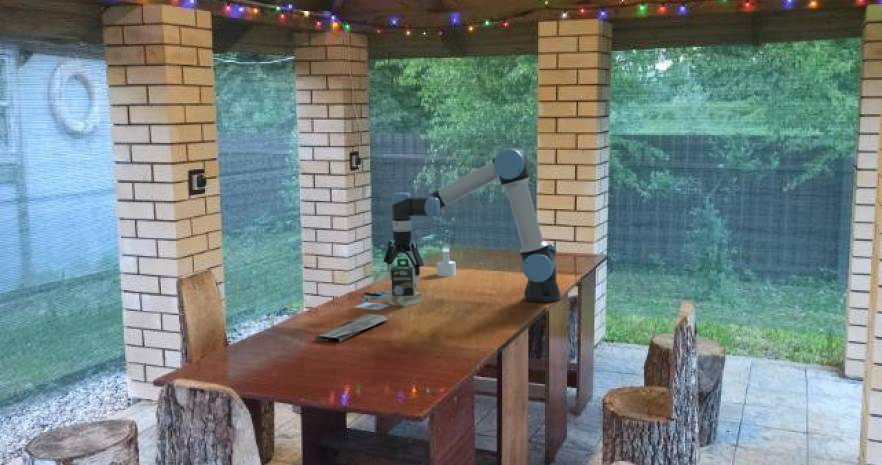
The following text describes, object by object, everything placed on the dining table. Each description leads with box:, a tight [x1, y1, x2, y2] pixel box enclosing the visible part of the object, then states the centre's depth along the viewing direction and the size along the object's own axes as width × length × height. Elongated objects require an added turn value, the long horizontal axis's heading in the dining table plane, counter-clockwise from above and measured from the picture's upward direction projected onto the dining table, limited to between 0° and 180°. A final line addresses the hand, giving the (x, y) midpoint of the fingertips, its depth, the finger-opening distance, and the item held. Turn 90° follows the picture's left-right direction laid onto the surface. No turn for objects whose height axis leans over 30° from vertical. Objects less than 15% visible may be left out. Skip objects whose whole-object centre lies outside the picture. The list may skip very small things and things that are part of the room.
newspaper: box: [314, 313, 390, 344], centre depth 310 cm, size 35×12×4 cm, turn 155°
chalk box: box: [390, 258, 418, 296], centre depth 350 cm, size 9×9×15 cm
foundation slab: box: [386, 291, 423, 308], centre depth 351 cm, size 10×10×4 cm
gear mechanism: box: [360, 285, 390, 303], centre depth 366 cm, size 20×5×9 cm
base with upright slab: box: [436, 248, 457, 278], centre depth 408 cm, size 9×9×12 cm
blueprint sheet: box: [353, 301, 391, 311], centre depth 347 cm, size 12×9×1 cm
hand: (403, 281), depth 350 cm, fingers open, 13 cm apart
